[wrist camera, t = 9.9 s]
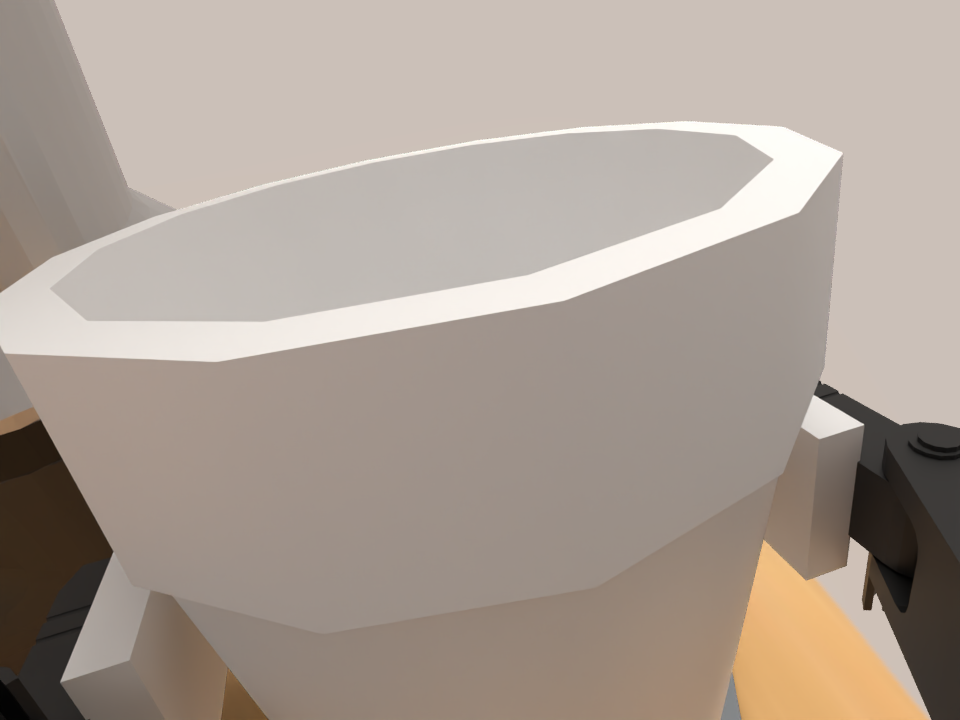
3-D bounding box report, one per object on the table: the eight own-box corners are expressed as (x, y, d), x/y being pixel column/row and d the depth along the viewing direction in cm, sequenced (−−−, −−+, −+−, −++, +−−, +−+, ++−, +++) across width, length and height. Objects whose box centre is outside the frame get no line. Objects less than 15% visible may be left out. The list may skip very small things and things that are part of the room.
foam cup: (252, 800, 14) (-42, 264, 9) (527, 566, 19) (452, 134, 14) (564, 1373, 7) (138, 611, 2) (859, 780, 13) (978, 103, 7)
